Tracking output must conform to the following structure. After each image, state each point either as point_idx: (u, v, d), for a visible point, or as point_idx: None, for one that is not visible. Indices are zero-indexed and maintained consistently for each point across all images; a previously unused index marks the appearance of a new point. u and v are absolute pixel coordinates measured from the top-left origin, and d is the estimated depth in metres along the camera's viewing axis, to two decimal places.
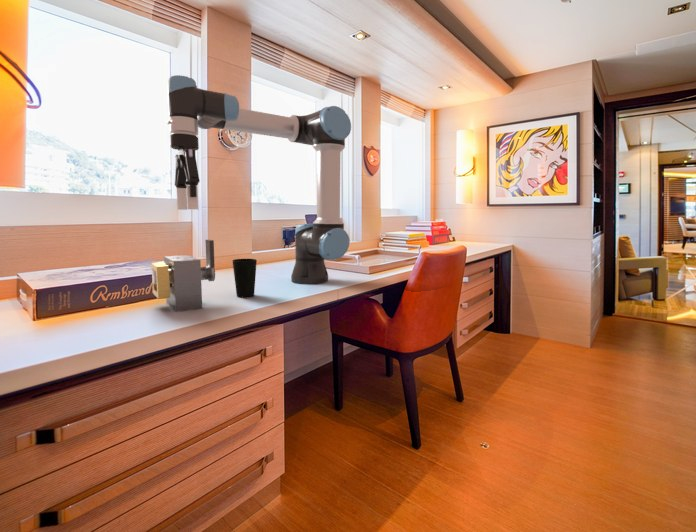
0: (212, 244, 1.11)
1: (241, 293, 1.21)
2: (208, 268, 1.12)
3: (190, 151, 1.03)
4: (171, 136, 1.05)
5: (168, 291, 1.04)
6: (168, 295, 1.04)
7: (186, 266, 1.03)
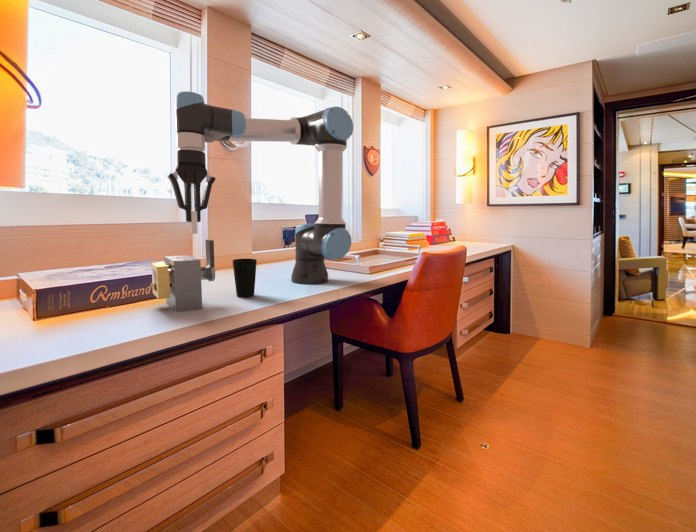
0: (212, 244, 1.11)
1: (241, 293, 1.21)
2: (208, 268, 1.12)
3: (168, 177, 1.04)
4: None
5: (168, 291, 1.04)
6: (168, 295, 1.04)
7: (186, 266, 1.03)
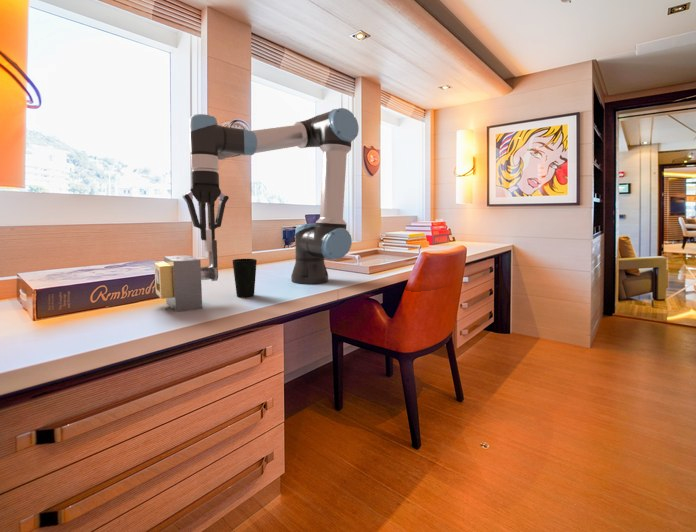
0: (215, 244, 1.12)
1: (241, 293, 1.21)
2: (211, 268, 1.13)
3: (184, 197, 1.07)
4: None
5: (171, 291, 1.04)
6: (171, 295, 1.04)
7: (186, 266, 1.03)
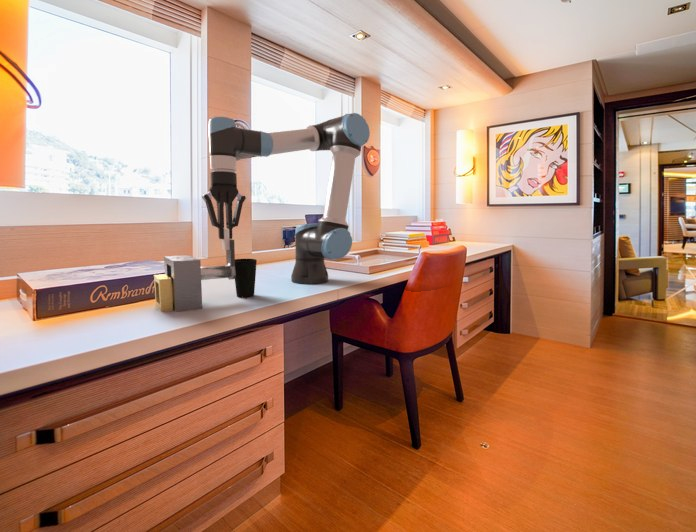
0: (233, 243, 1.15)
1: (241, 293, 1.21)
2: (229, 267, 1.16)
3: (203, 197, 1.10)
4: None
5: (171, 303, 1.04)
6: (171, 307, 1.05)
7: (186, 266, 1.03)
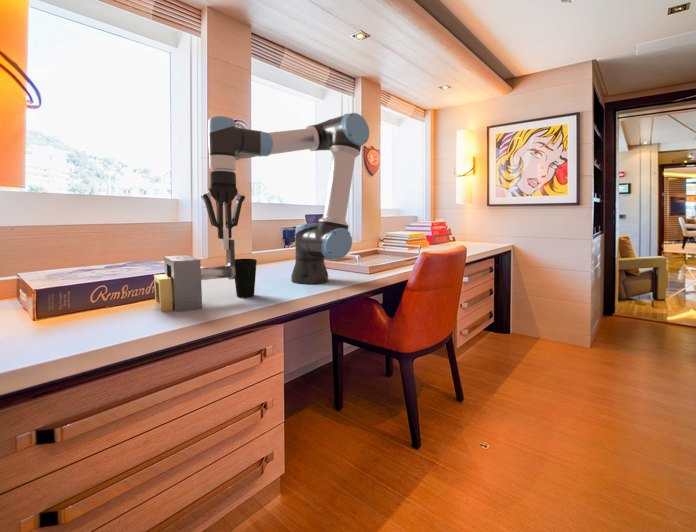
0: (233, 243, 1.15)
1: (241, 293, 1.21)
2: (229, 267, 1.16)
3: (202, 197, 1.10)
4: None
5: (171, 303, 1.04)
6: (171, 307, 1.05)
7: (186, 266, 1.03)
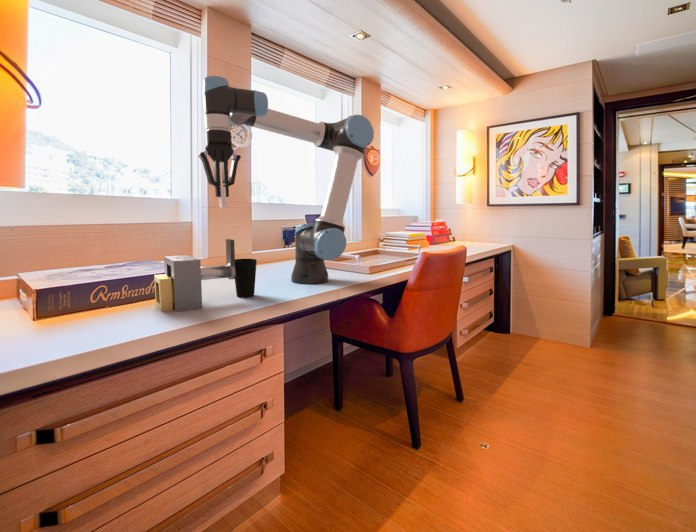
0: (233, 243, 1.15)
1: (241, 293, 1.21)
2: (229, 267, 1.16)
3: (199, 155, 1.14)
4: None
5: (171, 303, 1.05)
6: (171, 307, 1.05)
7: (186, 266, 1.03)
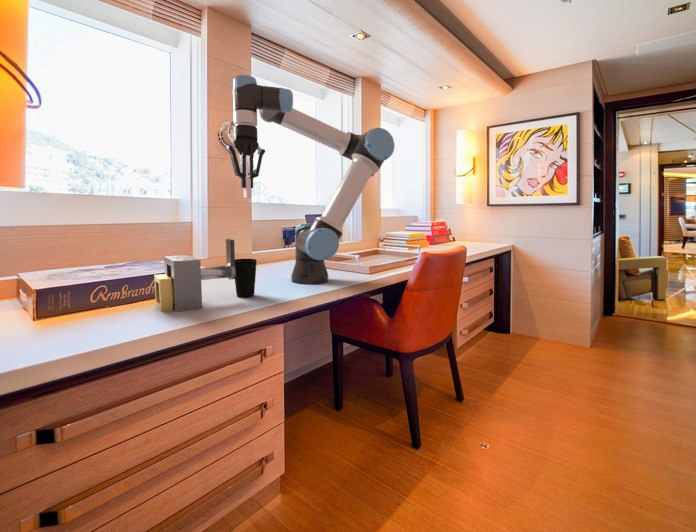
0: (233, 243, 1.15)
1: (241, 293, 1.21)
2: (229, 267, 1.16)
3: (228, 148, 1.23)
4: None
5: (171, 303, 1.05)
6: (171, 307, 1.05)
7: (186, 266, 1.03)
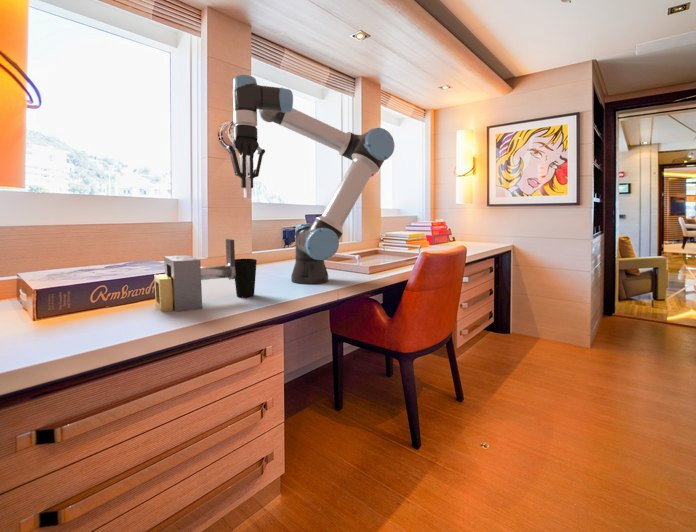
0: (233, 243, 1.15)
1: (241, 293, 1.21)
2: (229, 267, 1.16)
3: (228, 148, 1.23)
4: None
5: (171, 303, 1.04)
6: (171, 307, 1.05)
7: (186, 266, 1.03)
